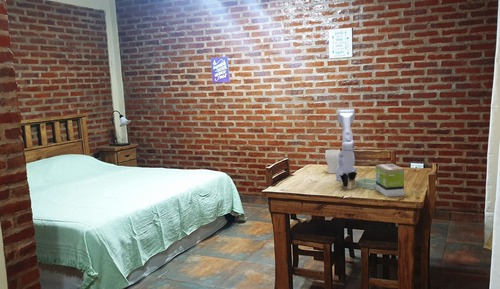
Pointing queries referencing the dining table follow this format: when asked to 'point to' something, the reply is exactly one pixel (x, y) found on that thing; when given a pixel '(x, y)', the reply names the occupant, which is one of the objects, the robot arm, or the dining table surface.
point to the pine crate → (349, 184)
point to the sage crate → (366, 183)
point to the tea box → (390, 180)
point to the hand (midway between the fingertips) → (348, 185)
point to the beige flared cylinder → (332, 160)
